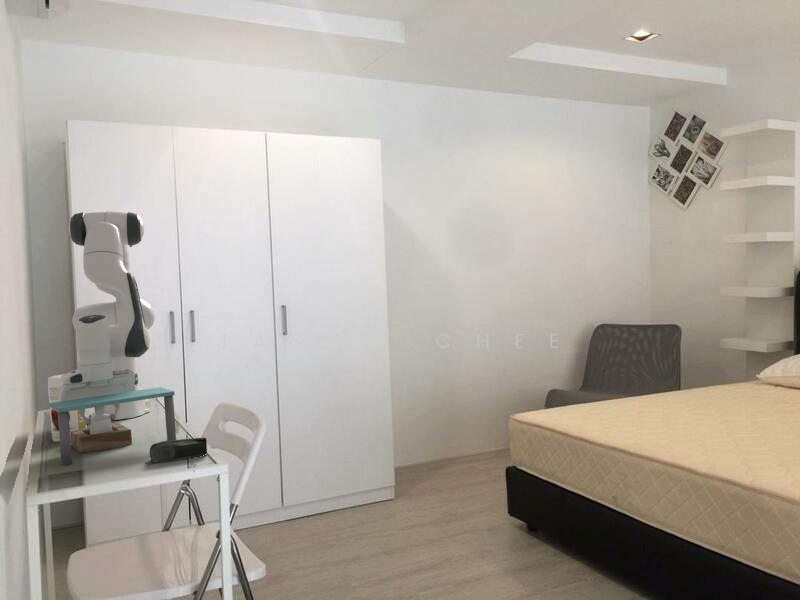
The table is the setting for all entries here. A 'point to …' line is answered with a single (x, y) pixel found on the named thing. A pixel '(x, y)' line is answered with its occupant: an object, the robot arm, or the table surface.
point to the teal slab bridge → (109, 399)
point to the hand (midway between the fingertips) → (100, 422)
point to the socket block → (101, 439)
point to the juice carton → (74, 416)
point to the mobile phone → (177, 450)
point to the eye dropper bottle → (100, 422)
